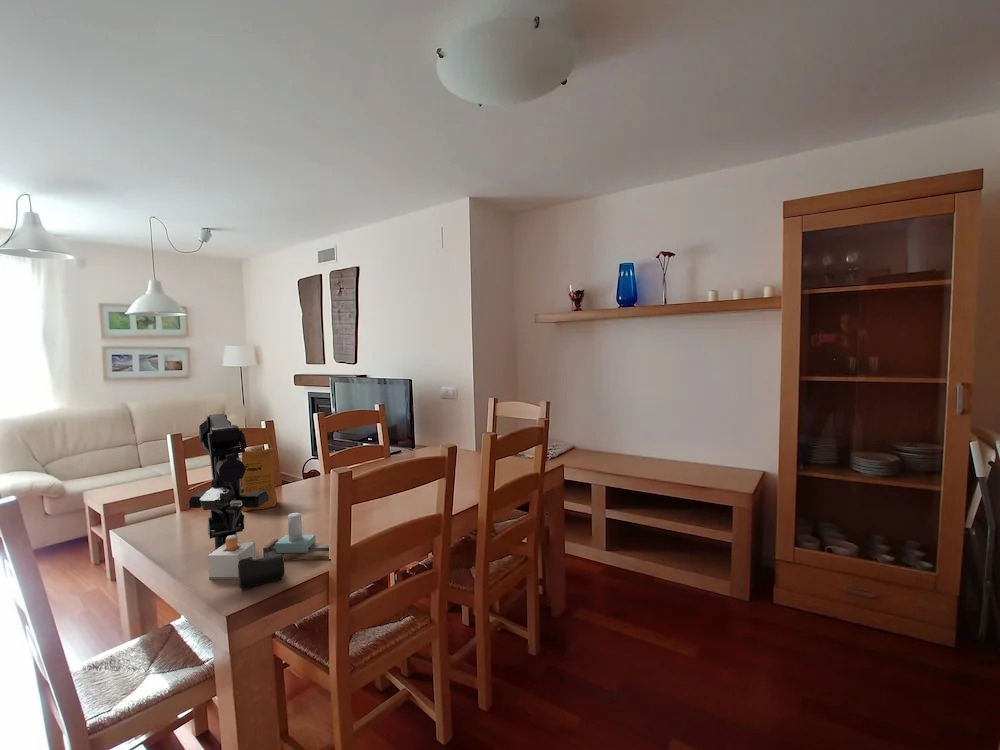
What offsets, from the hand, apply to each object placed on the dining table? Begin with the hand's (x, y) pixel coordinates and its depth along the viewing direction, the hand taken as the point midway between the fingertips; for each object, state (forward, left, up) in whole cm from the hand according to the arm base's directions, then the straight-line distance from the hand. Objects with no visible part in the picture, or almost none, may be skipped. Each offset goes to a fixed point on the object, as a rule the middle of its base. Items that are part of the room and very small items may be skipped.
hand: (231, 530), depth 124 cm
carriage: (+2, +16, -10) cm, 19 cm away
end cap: (+12, +3, -12) cm, 17 cm away
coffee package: (-49, +25, -12) cm, 56 cm away
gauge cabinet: (0, 0, -12) cm, 12 cm away
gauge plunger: (0, 0, -5) cm, 5 cm away
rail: (+4, +18, -12) cm, 22 cm away
